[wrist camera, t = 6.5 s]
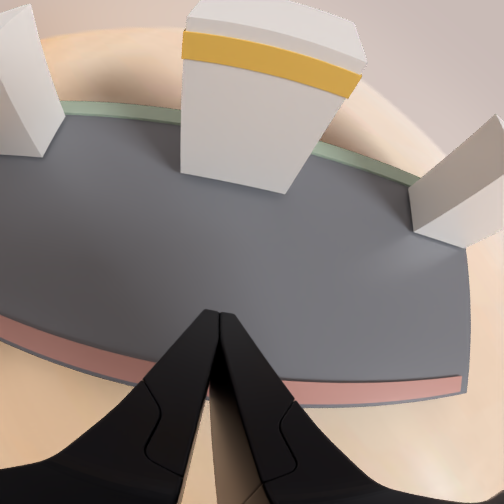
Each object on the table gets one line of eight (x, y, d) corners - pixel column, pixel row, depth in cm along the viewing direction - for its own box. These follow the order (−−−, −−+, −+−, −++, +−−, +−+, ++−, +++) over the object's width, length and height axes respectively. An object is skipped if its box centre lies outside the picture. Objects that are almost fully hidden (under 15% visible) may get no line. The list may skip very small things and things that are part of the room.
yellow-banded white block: (286, 195, 14) (369, 64, 6) (179, 173, 13) (184, 17, 6) (290, 146, 15) (355, 22, 7) (194, 125, 14) (211, -15, 7)
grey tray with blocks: (445, 392, 15) (574, 387, 5) (-47, 310, 10) (-162, 262, 1) (439, 205, 20) (532, 138, 10) (26, 119, 15) (-19, 12, 5)
